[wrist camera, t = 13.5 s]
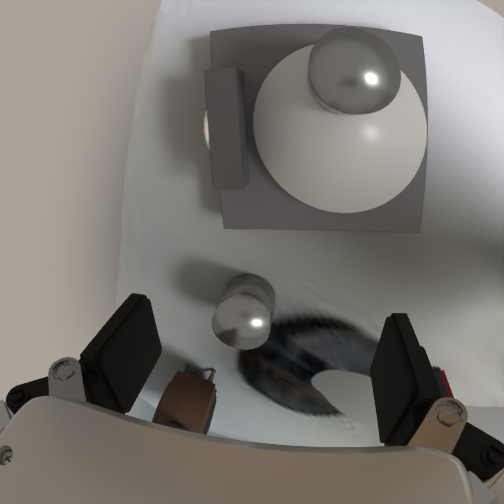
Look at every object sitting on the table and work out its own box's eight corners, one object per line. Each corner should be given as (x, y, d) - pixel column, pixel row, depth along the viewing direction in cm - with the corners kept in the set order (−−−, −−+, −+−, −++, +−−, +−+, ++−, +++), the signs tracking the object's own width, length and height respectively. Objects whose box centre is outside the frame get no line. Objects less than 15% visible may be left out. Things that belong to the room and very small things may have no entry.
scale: (411, 43, 20) (435, 28, 15) (409, 222, 28) (430, 246, 23) (216, 39, 23) (195, 22, 18) (228, 218, 31) (211, 241, 26)
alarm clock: (212, 410, 47) (180, 508, 29) (173, 396, 47) (132, 490, 29) (232, 361, 40) (193, 488, 22) (184, 344, 40) (126, 462, 23)
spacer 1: (275, 274, 33) (269, 305, 28) (275, 317, 36) (270, 351, 30) (222, 272, 34) (207, 302, 29) (227, 314, 37) (215, 346, 31)
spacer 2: (376, 51, 19) (397, 33, 13) (380, 118, 21) (402, 118, 16) (304, 46, 20) (305, 25, 14) (308, 114, 22) (310, 112, 17)
